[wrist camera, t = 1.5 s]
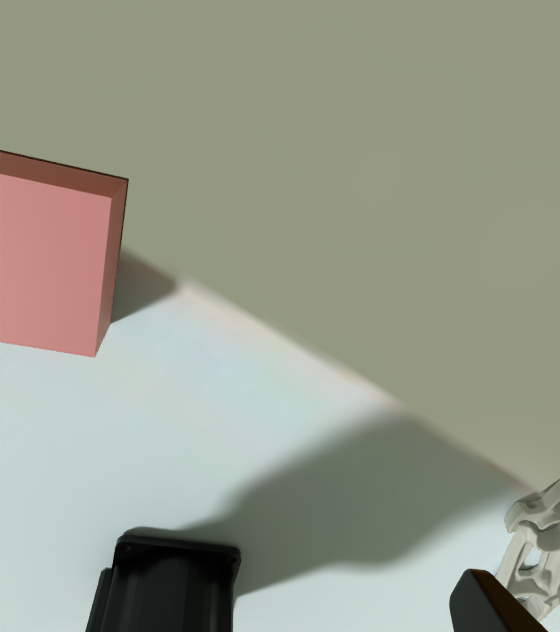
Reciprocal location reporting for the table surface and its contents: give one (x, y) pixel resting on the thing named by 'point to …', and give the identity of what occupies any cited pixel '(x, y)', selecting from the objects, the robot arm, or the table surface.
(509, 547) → the bracket
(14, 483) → the table surface
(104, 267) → the block
